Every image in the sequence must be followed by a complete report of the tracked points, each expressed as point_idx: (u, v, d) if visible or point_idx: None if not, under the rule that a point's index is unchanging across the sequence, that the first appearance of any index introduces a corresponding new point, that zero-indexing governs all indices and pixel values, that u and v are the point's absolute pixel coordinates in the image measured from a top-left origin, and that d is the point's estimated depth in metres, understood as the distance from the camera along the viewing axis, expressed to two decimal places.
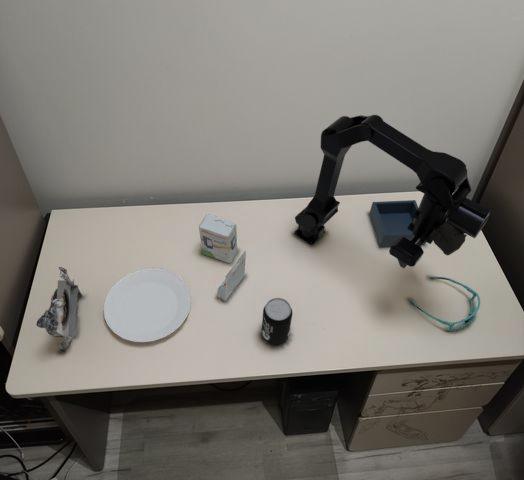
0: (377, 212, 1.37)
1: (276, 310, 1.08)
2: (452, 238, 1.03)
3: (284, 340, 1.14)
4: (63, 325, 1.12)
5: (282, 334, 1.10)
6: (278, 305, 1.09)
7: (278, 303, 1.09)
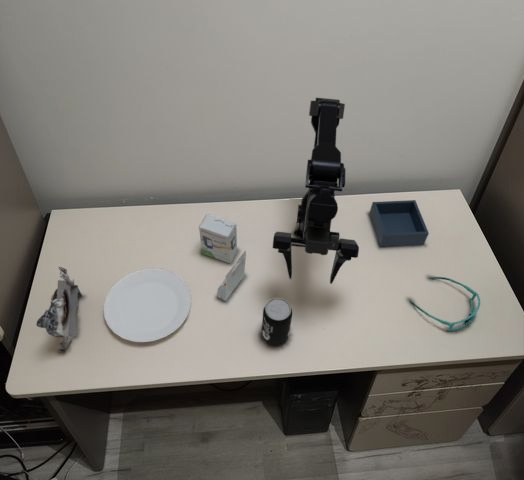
0: (377, 212, 1.37)
1: (276, 310, 1.08)
2: (315, 235, 1.02)
3: (284, 340, 1.14)
4: (63, 325, 1.12)
5: (282, 334, 1.10)
6: (278, 305, 1.09)
7: (278, 303, 1.09)
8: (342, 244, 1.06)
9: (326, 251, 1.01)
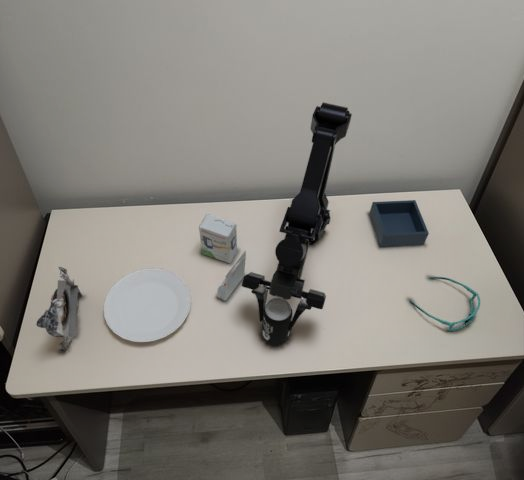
0: (377, 212, 1.37)
1: (276, 310, 1.08)
2: (281, 279, 1.04)
3: (284, 340, 1.14)
4: (63, 325, 1.12)
5: (282, 334, 1.10)
6: (278, 305, 1.09)
7: (278, 303, 1.09)
8: (309, 293, 1.07)
9: (288, 296, 1.02)
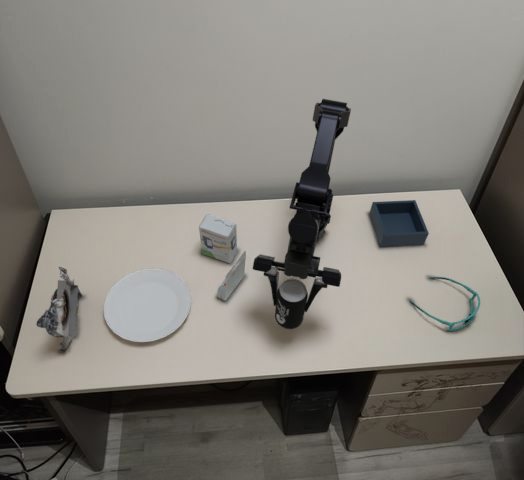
0: (377, 212, 1.37)
1: (291, 291, 1.03)
2: (295, 258, 0.99)
3: (300, 322, 1.09)
4: (63, 325, 1.12)
5: (298, 316, 1.06)
6: (292, 286, 1.04)
7: (292, 284, 1.04)
8: (324, 271, 1.02)
9: (305, 275, 0.97)
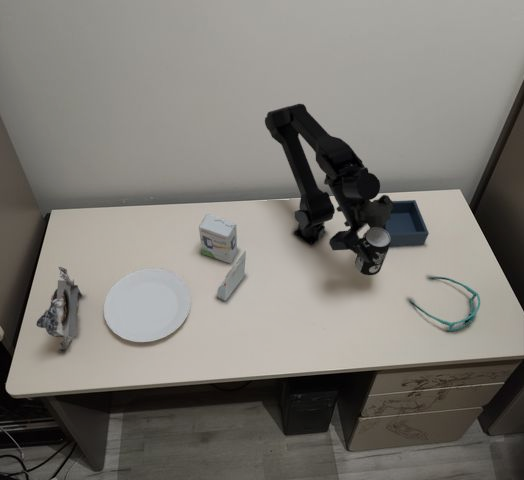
0: None
1: (378, 238, 1.13)
2: (374, 209, 1.08)
3: None
4: (63, 325, 1.12)
5: None
6: (373, 235, 1.14)
7: (371, 235, 1.14)
8: None
9: (390, 214, 1.09)
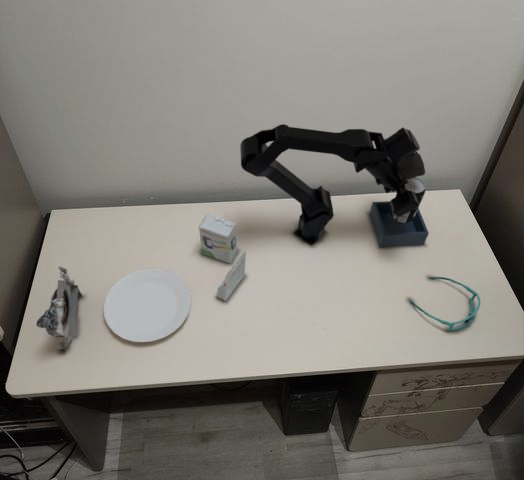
0: (377, 212, 1.37)
1: (415, 185, 1.25)
2: (412, 163, 1.18)
3: None
4: (63, 325, 1.12)
5: None
6: (410, 185, 1.25)
7: (409, 186, 1.25)
8: None
9: None
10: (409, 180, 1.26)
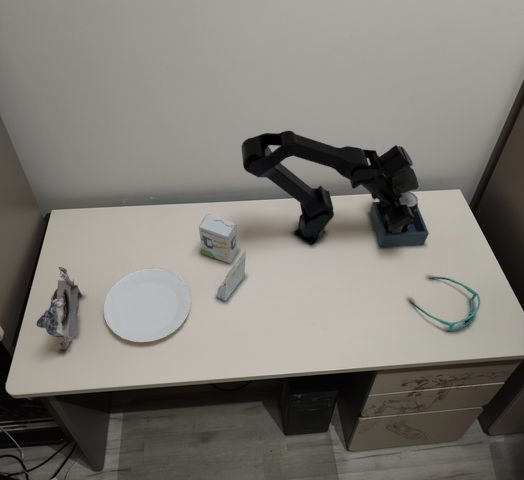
0: (377, 212, 1.37)
1: (408, 199, 1.30)
2: (406, 178, 1.23)
3: None
4: (63, 325, 1.12)
5: None
6: (403, 199, 1.30)
7: (402, 200, 1.30)
8: None
9: None
10: (402, 194, 1.31)
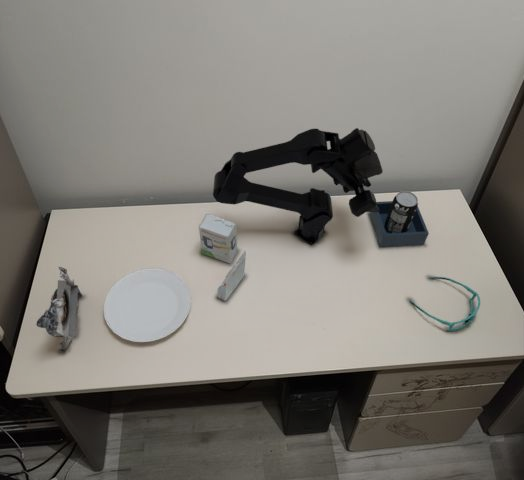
0: (377, 212, 1.37)
1: (408, 199, 1.30)
2: (369, 163, 1.18)
3: None
4: (63, 325, 1.12)
5: None
6: (403, 199, 1.30)
7: (402, 200, 1.30)
8: None
9: None
10: (402, 194, 1.31)
